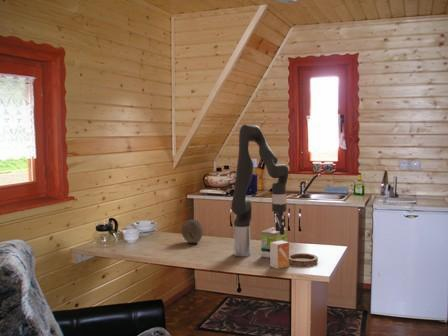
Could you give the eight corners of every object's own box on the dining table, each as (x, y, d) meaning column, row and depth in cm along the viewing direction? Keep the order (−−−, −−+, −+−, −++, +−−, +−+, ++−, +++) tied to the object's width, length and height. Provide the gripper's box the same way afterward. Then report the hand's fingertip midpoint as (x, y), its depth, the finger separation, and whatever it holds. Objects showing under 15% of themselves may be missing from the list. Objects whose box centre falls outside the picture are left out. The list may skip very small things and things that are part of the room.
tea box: (276, 259, 275) (276, 233, 274) (260, 256, 280) (260, 231, 279) (287, 252, 288) (287, 228, 286) (272, 250, 293) (272, 226, 292)
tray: (292, 267, 259) (292, 261, 258) (284, 259, 274) (284, 254, 274) (321, 265, 261) (321, 260, 261) (311, 257, 277) (311, 252, 277)
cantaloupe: (208, 242, 317) (207, 219, 315) (192, 246, 306) (192, 223, 305) (192, 239, 326) (191, 217, 324) (176, 243, 315) (176, 220, 314)
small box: (277, 269, 256) (277, 244, 255) (270, 266, 261) (269, 242, 260) (289, 266, 260) (289, 242, 259) (281, 263, 266) (281, 239, 264)
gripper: (268, 200, 264) (269, 230, 266) (275, 204, 250) (276, 236, 252) (282, 200, 265) (283, 229, 267) (290, 204, 251) (290, 235, 253)
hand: (279, 232), depth 259 cm, fingers open, 8 cm apart
